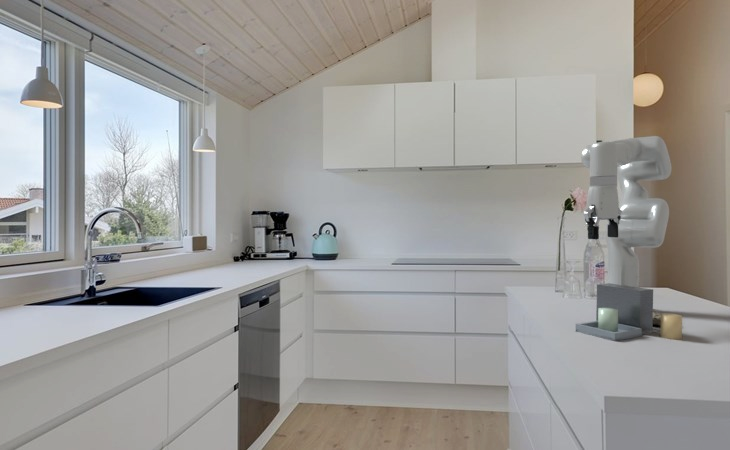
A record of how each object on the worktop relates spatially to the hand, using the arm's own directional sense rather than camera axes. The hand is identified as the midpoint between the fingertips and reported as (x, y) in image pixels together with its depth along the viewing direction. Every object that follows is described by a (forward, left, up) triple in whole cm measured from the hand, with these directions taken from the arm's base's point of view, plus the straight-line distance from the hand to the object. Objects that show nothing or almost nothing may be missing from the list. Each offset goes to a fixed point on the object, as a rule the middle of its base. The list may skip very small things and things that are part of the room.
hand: (603, 238), depth 142 cm
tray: (+13, +11, -26) cm, 31 cm away
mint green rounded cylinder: (+13, +11, -25) cm, 30 cm away
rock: (-10, +10, -26) cm, 30 cm away
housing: (+3, +9, -26) cm, 27 cm away
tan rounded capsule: (+1, +21, -26) cm, 33 cm away
